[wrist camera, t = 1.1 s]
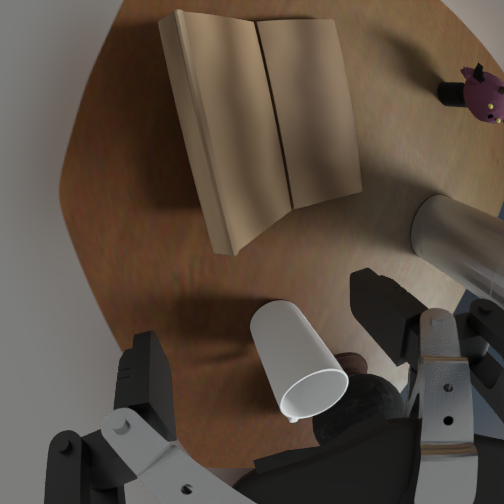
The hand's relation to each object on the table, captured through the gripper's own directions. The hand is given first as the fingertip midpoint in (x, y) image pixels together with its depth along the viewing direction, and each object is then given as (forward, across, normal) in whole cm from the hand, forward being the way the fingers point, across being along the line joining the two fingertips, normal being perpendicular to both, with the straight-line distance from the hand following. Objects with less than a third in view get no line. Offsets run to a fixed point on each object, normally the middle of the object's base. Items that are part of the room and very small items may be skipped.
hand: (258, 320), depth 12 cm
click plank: (+15, -3, -7) cm, 17 cm away
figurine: (+19, -32, -8) cm, 38 cm away
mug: (+19, -4, +17) cm, 26 cm away
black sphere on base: (+19, -12, +31) cm, 38 cm away
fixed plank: (+18, -11, -7) cm, 23 cm away
